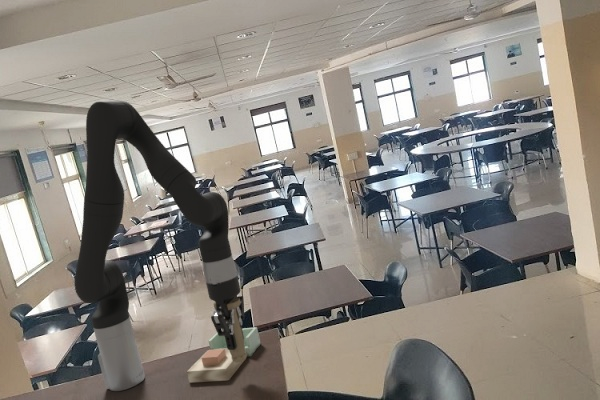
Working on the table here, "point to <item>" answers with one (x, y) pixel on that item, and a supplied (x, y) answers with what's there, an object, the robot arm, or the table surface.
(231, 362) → the cream flat slab
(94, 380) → the table surface
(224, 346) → the box
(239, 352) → the handle
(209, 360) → the tile
